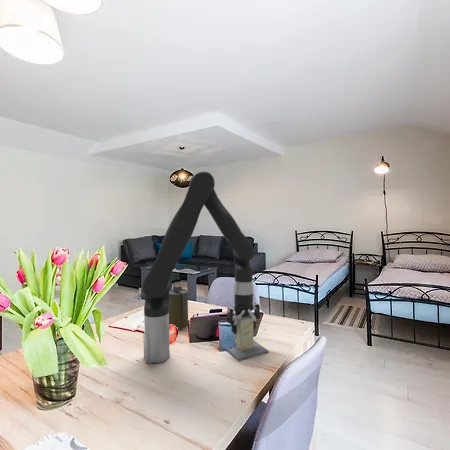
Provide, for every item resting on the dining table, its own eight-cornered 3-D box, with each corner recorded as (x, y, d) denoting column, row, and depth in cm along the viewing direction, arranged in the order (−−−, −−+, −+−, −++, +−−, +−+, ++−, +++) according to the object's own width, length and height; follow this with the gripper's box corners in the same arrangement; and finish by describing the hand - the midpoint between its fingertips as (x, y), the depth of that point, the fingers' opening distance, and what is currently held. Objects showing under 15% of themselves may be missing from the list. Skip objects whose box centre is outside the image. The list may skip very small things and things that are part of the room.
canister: (163, 326, 144) (162, 286, 143) (181, 320, 151) (180, 282, 151) (175, 332, 136) (174, 290, 136) (193, 326, 143) (192, 286, 143)
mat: (237, 361, 108) (237, 358, 108) (221, 346, 121) (221, 344, 121) (268, 352, 115) (268, 350, 115) (249, 339, 127) (249, 337, 127)
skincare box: (240, 351, 114) (240, 321, 114) (235, 347, 118) (234, 317, 118) (254, 347, 117) (253, 318, 117) (248, 343, 121) (247, 314, 121)
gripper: (253, 287, 124) (253, 325, 124) (223, 291, 117) (223, 331, 118) (263, 291, 117) (263, 331, 118) (232, 296, 111) (232, 338, 111)
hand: (243, 331), depth 118 cm, fingers open, 8 cm apart
